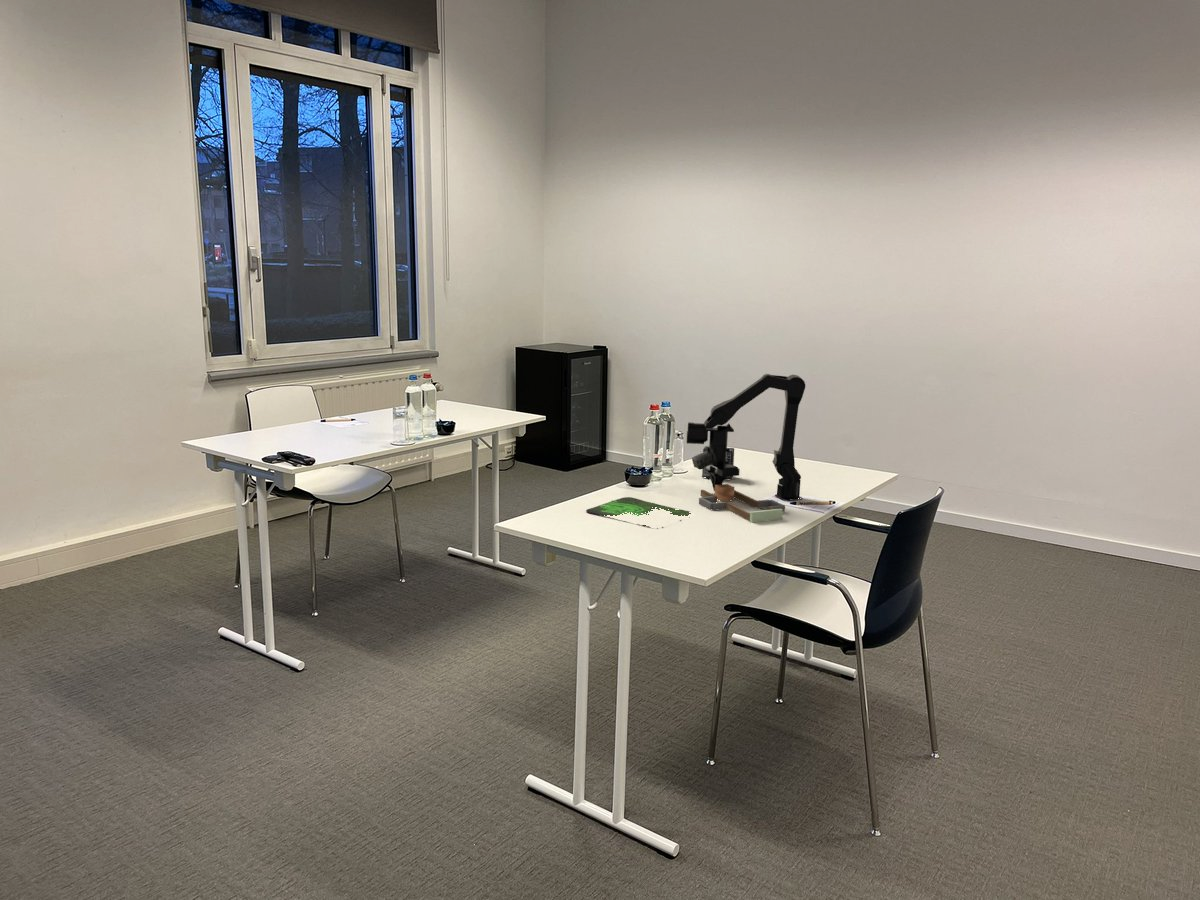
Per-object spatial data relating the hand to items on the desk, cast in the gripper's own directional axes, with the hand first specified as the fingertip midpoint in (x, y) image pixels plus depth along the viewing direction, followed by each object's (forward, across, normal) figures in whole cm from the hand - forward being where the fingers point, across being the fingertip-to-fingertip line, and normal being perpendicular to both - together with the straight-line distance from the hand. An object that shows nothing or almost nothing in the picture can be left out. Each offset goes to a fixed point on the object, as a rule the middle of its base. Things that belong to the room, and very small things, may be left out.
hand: (715, 491), depth 288 cm
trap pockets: (+1, +16, 0) cm, 16 cm away
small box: (+1, -22, +13) cm, 25 cm away
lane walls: (+1, +15, 0) cm, 15 cm away
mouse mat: (+2, +12, -32) cm, 34 cm away
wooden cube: (+1, +6, 0) cm, 6 cm away
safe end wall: (+1, +30, 0) cm, 30 cm away
